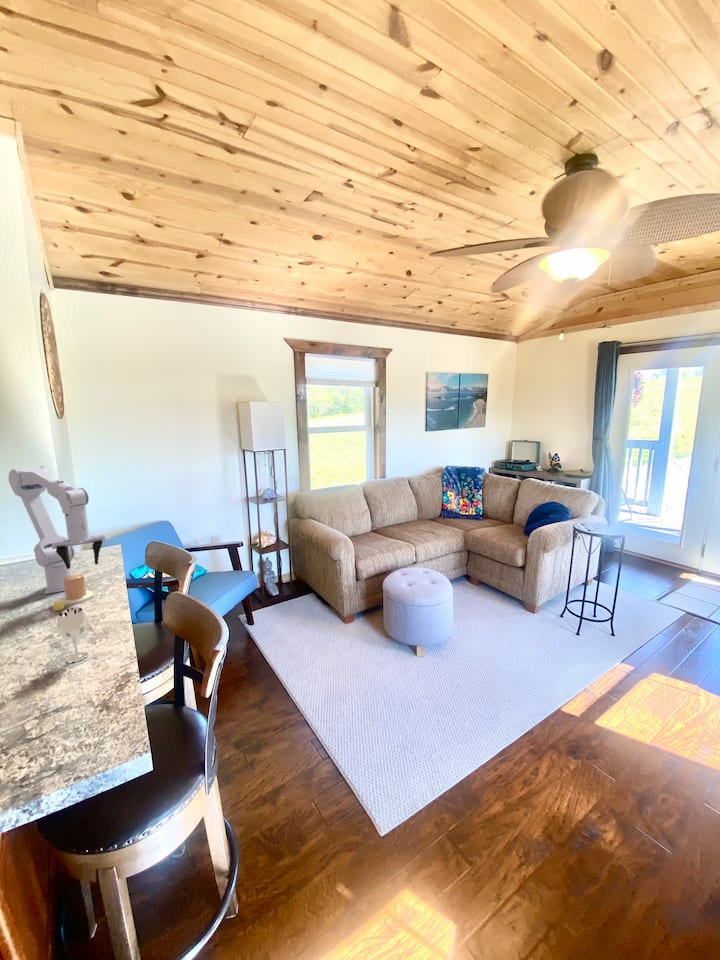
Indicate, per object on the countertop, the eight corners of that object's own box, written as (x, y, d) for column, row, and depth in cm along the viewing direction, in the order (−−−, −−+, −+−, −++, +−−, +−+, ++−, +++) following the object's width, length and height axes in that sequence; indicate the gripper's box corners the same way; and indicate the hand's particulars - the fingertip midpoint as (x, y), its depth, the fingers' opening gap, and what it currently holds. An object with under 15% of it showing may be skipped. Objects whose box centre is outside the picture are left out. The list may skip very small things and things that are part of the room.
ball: (54, 609, 123) (52, 600, 123) (66, 607, 125) (64, 598, 124) (52, 613, 121) (50, 604, 120) (64, 611, 122) (63, 602, 122)
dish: (62, 596, 133) (62, 594, 133) (94, 590, 137) (94, 588, 137) (57, 607, 125) (56, 604, 125) (91, 600, 129) (91, 598, 129)
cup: (67, 595, 132) (64, 576, 131) (87, 591, 134) (84, 573, 134) (64, 601, 127) (61, 582, 126) (85, 597, 130) (82, 578, 129)
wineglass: (76, 666, 94) (69, 618, 92) (56, 663, 95) (49, 616, 93) (96, 652, 99) (90, 607, 98) (77, 650, 101) (71, 605, 99)
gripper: (47, 532, 123) (53, 573, 125) (102, 525, 130) (107, 565, 132) (51, 527, 129) (57, 567, 131) (104, 520, 136) (109, 558, 138)
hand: (82, 565), depth 132 cm, fingers open, 7 cm apart
